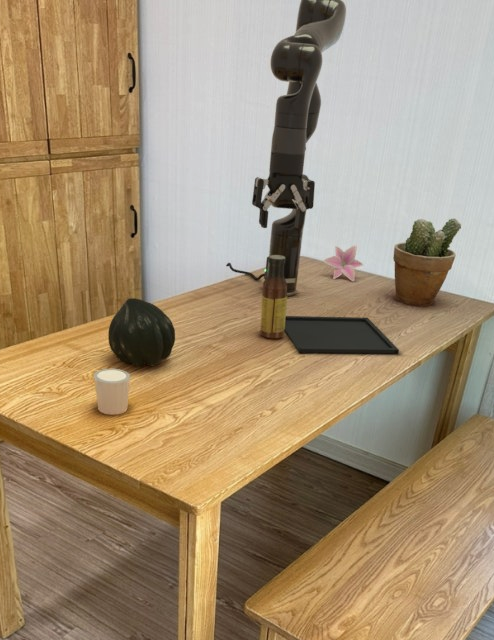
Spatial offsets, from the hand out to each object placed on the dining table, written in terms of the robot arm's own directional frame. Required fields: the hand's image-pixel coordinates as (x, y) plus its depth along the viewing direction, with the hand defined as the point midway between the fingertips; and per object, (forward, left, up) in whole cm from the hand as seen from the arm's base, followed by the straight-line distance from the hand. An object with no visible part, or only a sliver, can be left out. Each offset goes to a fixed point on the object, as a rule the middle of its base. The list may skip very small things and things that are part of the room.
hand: (280, 227), depth 162 cm
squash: (-1, -35, -28) cm, 45 cm away
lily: (-37, +60, -28) cm, 76 cm away
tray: (+5, +18, -27) cm, 33 cm away
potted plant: (-9, +65, -28) cm, 71 cm away
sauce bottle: (-2, +3, -28) cm, 28 cm away
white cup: (+18, -52, -28) cm, 62 cm away
